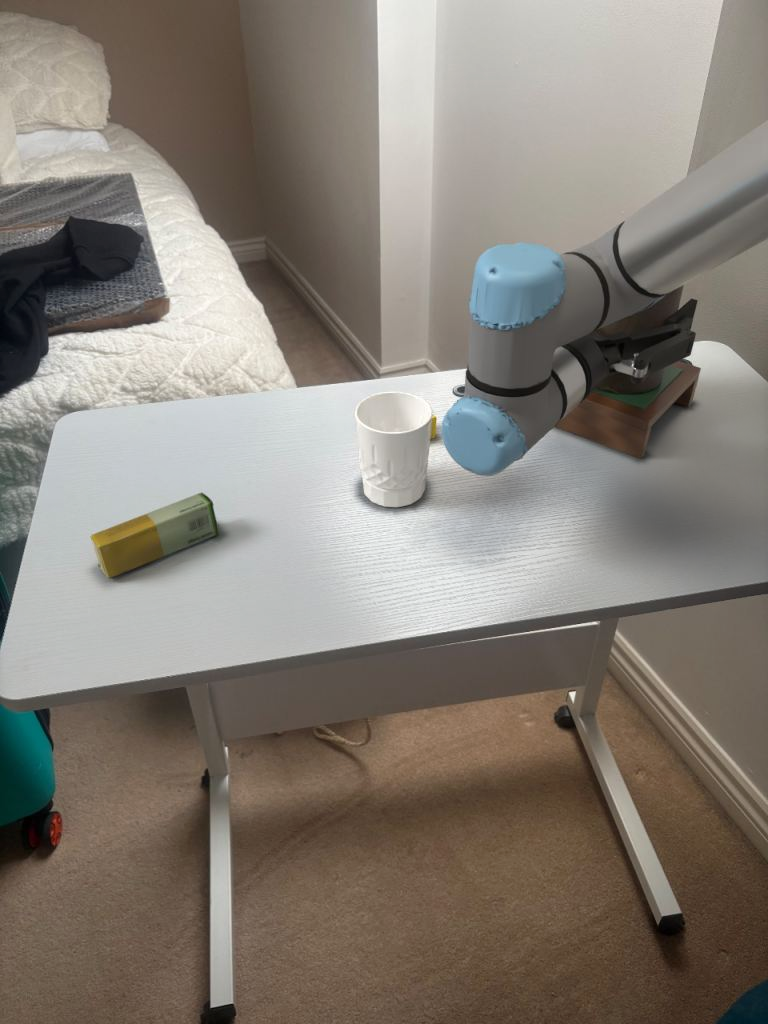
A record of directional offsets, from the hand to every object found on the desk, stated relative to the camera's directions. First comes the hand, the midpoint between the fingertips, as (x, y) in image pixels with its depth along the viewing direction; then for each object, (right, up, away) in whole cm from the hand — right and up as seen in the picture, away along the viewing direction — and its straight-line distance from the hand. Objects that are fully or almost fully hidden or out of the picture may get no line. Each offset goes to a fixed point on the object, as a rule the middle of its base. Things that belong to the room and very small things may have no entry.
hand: (649, 298), depth 97 cm
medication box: (-53, -29, -13) cm, 62 cm away
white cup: (-30, -23, -6) cm, 38 cm away
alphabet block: (-27, -16, +2) cm, 31 cm away
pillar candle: (-3, -9, +3) cm, 9 cm away
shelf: (-3, -12, +6) cm, 14 cm away
